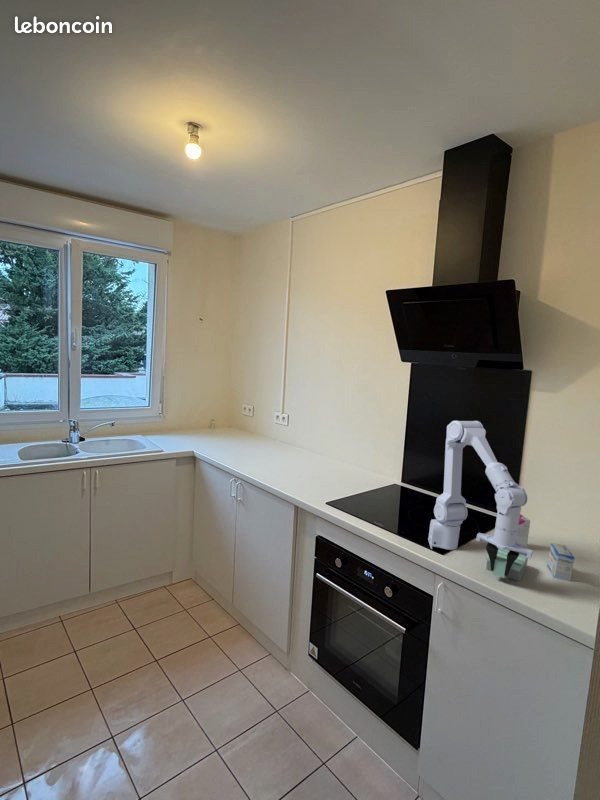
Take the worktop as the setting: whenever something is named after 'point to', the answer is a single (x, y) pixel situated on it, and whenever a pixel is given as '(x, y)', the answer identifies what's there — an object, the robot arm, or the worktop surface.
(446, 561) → the worktop surface
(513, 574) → the tub
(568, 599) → the worktop surface
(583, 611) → the worktop surface
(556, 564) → the medicine box
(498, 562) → the lid
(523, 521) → the supplement box
